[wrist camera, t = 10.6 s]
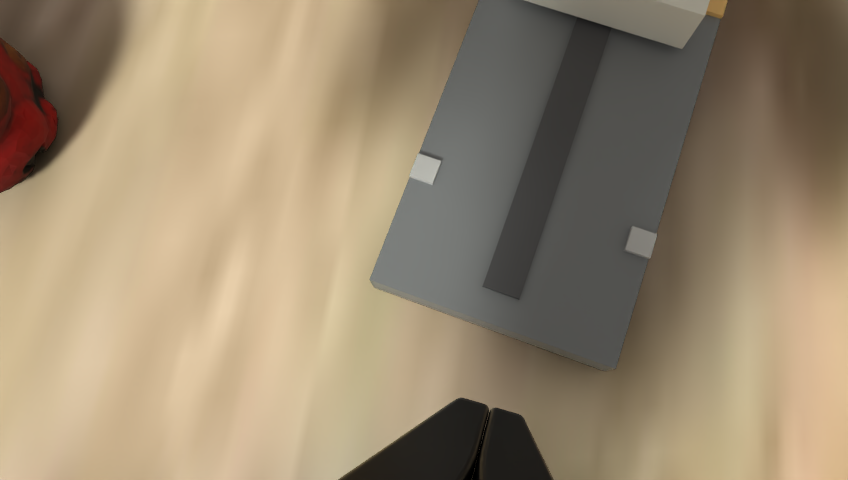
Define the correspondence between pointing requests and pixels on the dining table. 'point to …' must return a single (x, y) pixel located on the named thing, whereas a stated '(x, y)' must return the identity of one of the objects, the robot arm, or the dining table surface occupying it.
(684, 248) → the dining table surface
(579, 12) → the fader tab
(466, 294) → the fader console
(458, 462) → the robot arm
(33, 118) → the red clay folk toy
